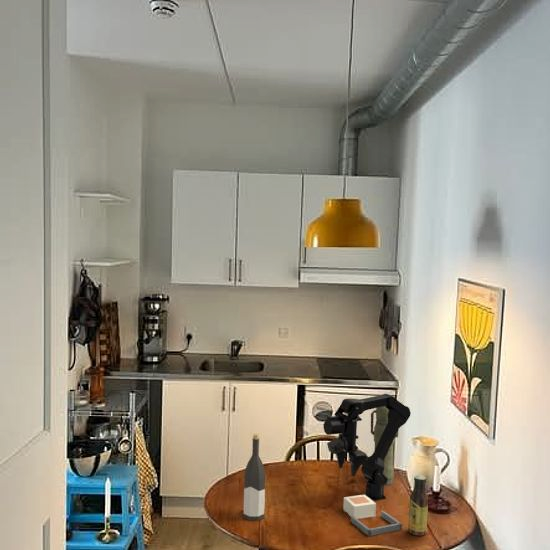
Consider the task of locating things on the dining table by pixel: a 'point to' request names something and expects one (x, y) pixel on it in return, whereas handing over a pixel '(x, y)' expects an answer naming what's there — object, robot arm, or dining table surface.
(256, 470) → the wine bottle
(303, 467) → the dining table surface
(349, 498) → the carton
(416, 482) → the sauce bottle
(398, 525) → the frame
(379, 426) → the thermos
